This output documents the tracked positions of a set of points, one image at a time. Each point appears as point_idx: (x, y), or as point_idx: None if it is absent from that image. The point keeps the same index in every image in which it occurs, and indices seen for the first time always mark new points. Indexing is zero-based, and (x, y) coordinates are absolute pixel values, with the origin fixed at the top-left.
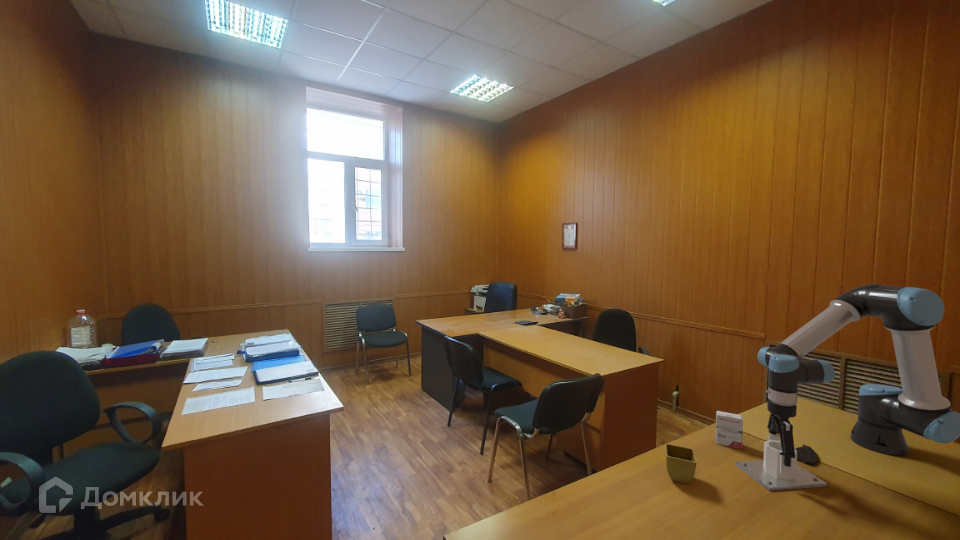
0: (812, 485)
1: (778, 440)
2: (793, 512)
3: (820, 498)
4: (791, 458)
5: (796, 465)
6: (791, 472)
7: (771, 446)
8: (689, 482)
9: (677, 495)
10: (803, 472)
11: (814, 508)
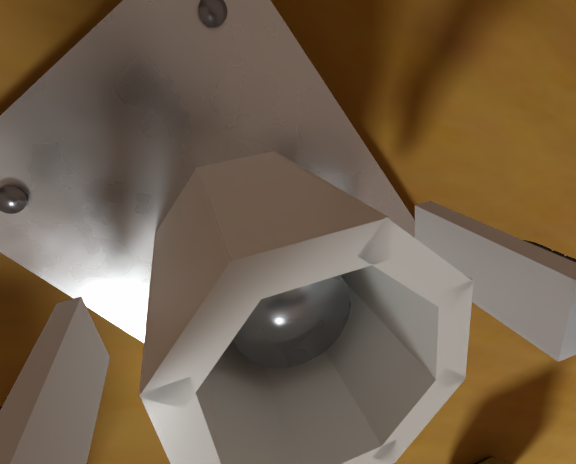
0: (299, 51)
1: (34, 422)
2: (554, 175)
3: (405, 28)
4: (568, 266)
5: (305, 170)
6: (451, 210)
7: (233, 414)
8: (503, 460)
9: (547, 447)
10: (134, 87)
11: (507, 84)
